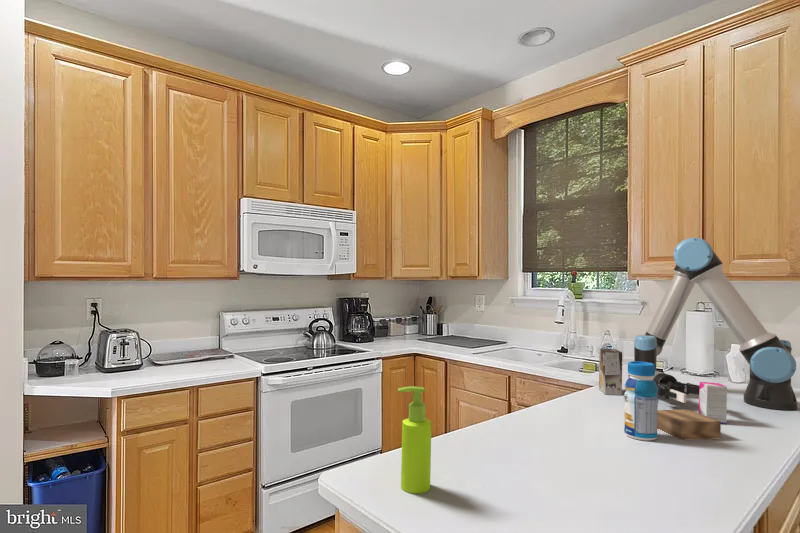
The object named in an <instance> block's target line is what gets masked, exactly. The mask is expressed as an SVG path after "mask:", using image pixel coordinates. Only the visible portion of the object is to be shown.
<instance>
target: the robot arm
mask: <svg viewBox="0 0 800 533" xmlns="http://www.w3.org/2000/svg"><path fill="white" fill-rule="evenodd" d="M673 259H674V263H675V267H674V268H673V273H674V275H673V278H672V279H671V281H670V283H669V285H668V288H667V289H666V291H665V293H664V295H663V297H662V299H661V301H660V304H659V305H658V308H657V310H656V311H655V313H654V316H653V318H652V320H651V321H650V324H649V326H648V328H647V329H646V332H645V334H639V335H638V334H637V335H635V336H634V343H633V346H634V347H633V348H634V349H633V352H634V353H633V355H634V360H633V361H640V362H648V363H652V364H654V365H655V376H654V377H652V378H653V380H654V381H655V383H656V385H657V388H658V392H657V396H658V398H659V397H660V398H662V397H664V400H670V399H673V400H675V401H677V402H681V403H682V404H683V403H684V404H686V403H687V395H691V394H692V395H697V396H699V385H700V384H695V383H690V382H686V383H684V382H681V381H678V379H677V378H676V377H675V376H673V375H671V374H668V373H664V372H662V371H659V370H657V356H659V355H660V354H661V353H662V351H663V350H664V349H663V348H664V345H665V344H666V342H667V339H668V337H669V335H670V334H671V332H672V330H673V328H674V325H675V323H676V322H677V320H678V318H679V316H680V314H681V312H682V310H683V308H684V306H685V303H686V302H687V300H688V298H689V296H690V294H691V292H692V290H693V288H694V287H695V284H698V286H699V287H700V289H701V290H702V291H703V293H704V295H706V298H707V299H708V300H709V301H710V303H711V304H712V306H713V307H714V309H716V312H717V313H718V314H719V316H720V317H721V318H722V319H723V321H724V322H725V324H726V325H727V327H728V328H729V330H730V331H731V332H732V334H733V335H734V336H735V338H736V339H737V341H738V342H739V343H740V346H739V352H740V353H741V355H742V356H743V357H744V359H745V361H746V362H747V363H748V365H749V381H748V383H747V386H746V388H745V390H744V393H743V402H744V403H745V404H747V405H752V406H755V407H758V408H759V407H760V408H765V409H771V410H772V409H773V410H778V411H779V410H780V411H795V410H797V409H798V407H799V406H798V400H797V397H796V395H795V394H796V393H795V392H794V389H793V386H792V377H793V376H794V375H795V372H796V371H797V362H796V359H795V357H794V356H793V355H792V350H793V347H792V344H791V341H789V340H786V339H785V340H784V339H780V337H778V336H777V334H776V333H771V332H768V331H767V329H766V328H765V327H764V325H763V324H762V323H761V321H760V320H759V319H758V317H757V315H755V314H754V311H752V309H751V308H750V306H749V305H748V304H747V303H746V301H745V299H744V298H743V297H742V296H741V294H740V292H738V290H737V289H736V287H735V286H734V284H732V282H731V281H730V279H729V278H728V277H727V275H726V274H725V273H724V271H723V268H724V263H723V261H722V260H721V259H720V258H719V256H718V255H717V254H716V252H715V251H714V249H713V247H712V246H711V245H710V243H709V242H708V241H706V240H705V239H703V238H699V237H688V238H686V239H683V240H682V241H680V242H679V243H678V244H677V245H676V246H675V248H674V251H673ZM627 374H628V373H627ZM627 376H628V378H629V377H630V375H629V374H628V375H627Z"/></svg>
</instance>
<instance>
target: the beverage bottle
mask: <svg viewBox="0 0 800 533" xmlns="http://www.w3.org/2000/svg"><path fill="white" fill-rule="evenodd" d="M627 374H629V375H630V377H629V376H628V378H627V379H626V381H625V383H624V388H625V392H624V393H623V394H624V395H623V398H624V429H623V430H624V434H625V436H627V437H629V438H630V439H633V440H638V441H646V442H647V441H649V442H650V441H656V440H657V439H658V429H657V413H658V410H659V409H658V406H659V405H658V403H659V396H658V395H657V392H658V388H657V385H656V383H655V381H654V380H653V378H652V377H654V376H655V365H654V364H652V363H648V362H640V361H634V360H632V361H628V362H627Z"/></svg>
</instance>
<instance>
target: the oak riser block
mask: <svg viewBox="0 0 800 533" xmlns="http://www.w3.org/2000/svg"><path fill="white" fill-rule="evenodd" d="M721 425H722V424H721V421H718V420H716V419H713V418H710V417H707V416H705V415H702V414H699V412H696V411H693V410H691V409H658V413H657V430H659V429H660V430H659V431H661V430H662V431H661V432H663V431H664V432H663V433H665V432H666V433H665V434H667V433H668V435H669V434H670V436H671V435H672V436H671V437H674V438H676V439H678V440H680V439H681V440H680V441H686V440H685V439H693V440H711V439H710V438H721V437H722V436H721V434H722V433H721V431H722V429H721V428H722V426H721ZM721 439H722V438H721Z"/></svg>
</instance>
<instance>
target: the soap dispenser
mask: <svg viewBox="0 0 800 533" xmlns="http://www.w3.org/2000/svg"><path fill="white" fill-rule="evenodd" d="M397 392H399V393H400V394H401V393H406V392H409V393H410V392H412V394H413V395H412V401H411V402H410V403H408V417H407V418H404V419H403V420H402V422H401V423H402V424H401V428H402V429H401V464H400V467H401V469H400V470H401V472H400V474H401V475H400V478H401V479H400V488H401V489H402V491H404V492H406V493H408V494H409V493H410V494H415V495H416V494H423V493H427V492H428V491H430V490H431V467H432V464H431V461H432V460H431V459H432V420H430V419H428V418H426V407H427V406H426V404H425V403H424V402H422V396H423V395H422V393H425V392H426V389H425V387H424V386H415V385H413V386H409V385H408V386H403V387H398V388H397Z"/></svg>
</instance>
